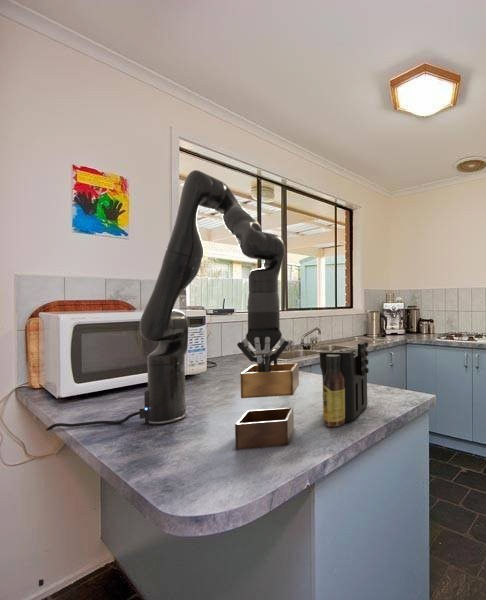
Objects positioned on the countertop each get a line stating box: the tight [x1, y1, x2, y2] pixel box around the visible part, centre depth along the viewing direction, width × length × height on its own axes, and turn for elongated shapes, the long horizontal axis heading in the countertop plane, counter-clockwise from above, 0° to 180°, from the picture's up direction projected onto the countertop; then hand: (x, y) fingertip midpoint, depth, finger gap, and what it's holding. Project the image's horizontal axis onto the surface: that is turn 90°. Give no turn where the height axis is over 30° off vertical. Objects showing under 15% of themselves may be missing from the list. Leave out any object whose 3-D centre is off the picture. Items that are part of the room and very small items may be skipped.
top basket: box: [240, 348, 300, 399], centre depth 84 cm, size 12×10×10 cm
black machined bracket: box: [318, 341, 370, 424], centre depth 103 cm, size 12×21×22 cm, turn 169°
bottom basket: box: [234, 407, 295, 450], centre depth 84 cm, size 12×10×6 cm
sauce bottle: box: [322, 354, 345, 428], centre depth 93 cm, size 6×6×20 cm
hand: (264, 377), depth 84 cm, fingers closed
